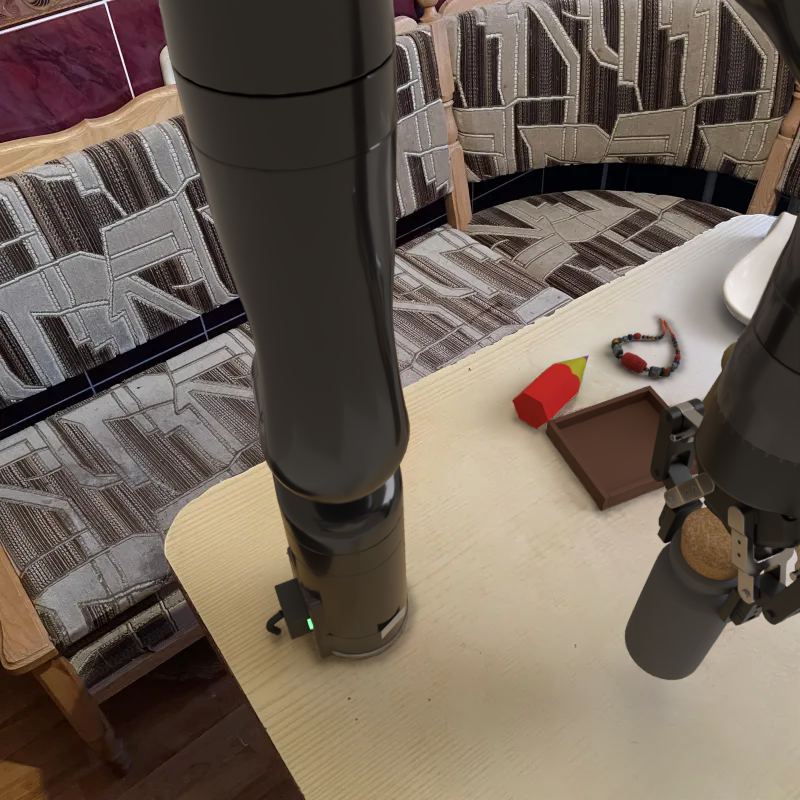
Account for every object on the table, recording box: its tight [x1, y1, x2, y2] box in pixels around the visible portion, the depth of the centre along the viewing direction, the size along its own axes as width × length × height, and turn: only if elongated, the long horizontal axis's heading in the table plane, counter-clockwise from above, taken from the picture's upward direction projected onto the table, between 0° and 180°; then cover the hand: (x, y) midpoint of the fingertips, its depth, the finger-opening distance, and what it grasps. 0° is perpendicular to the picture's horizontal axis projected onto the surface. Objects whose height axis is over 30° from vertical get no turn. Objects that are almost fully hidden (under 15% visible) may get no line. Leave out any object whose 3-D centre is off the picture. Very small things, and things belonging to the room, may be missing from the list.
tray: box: [544, 385, 698, 512], centre depth 80 cm, size 13×11×2 cm
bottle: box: [624, 506, 738, 681], centre depth 53 cm, size 6×6×15 cm
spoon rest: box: [721, 211, 797, 326], centre depth 96 cm, size 24×12×7 cm, turn 155°
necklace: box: [610, 317, 682, 379], centre depth 91 cm, size 8×11×2 cm
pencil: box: [511, 355, 589, 430], centre depth 85 cm, size 5×12×4 cm, turn 138°
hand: (701, 573), depth 50 cm, fingers closed on bottle, 5 cm apart
